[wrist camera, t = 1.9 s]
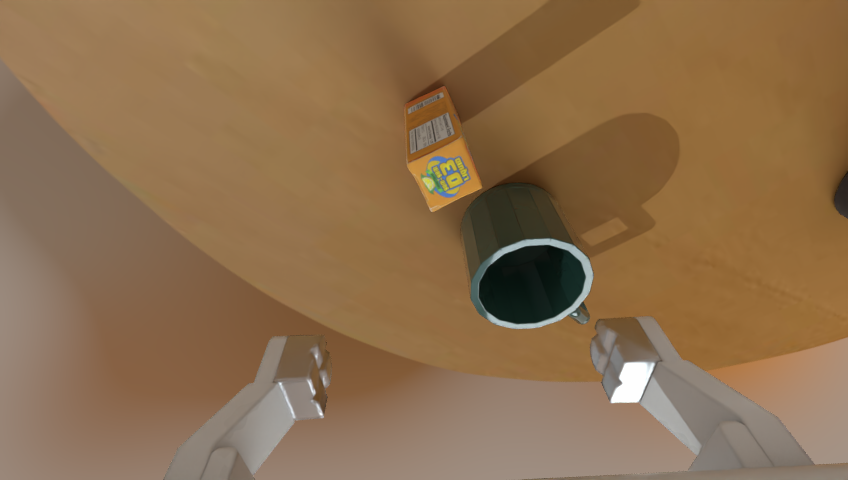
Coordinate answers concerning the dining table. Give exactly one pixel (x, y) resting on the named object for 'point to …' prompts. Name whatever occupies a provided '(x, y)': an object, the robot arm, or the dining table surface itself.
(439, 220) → the dining table surface
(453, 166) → the supplement box
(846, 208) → the container
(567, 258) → the teal faceted mug
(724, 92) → the dining table surface
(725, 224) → the dining table surface
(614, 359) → the robot arm
